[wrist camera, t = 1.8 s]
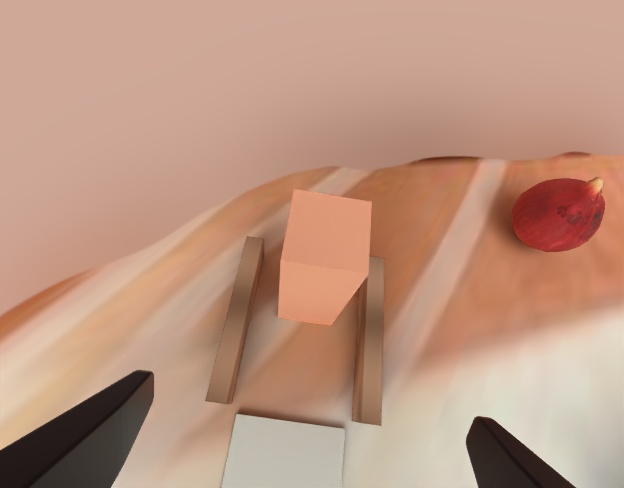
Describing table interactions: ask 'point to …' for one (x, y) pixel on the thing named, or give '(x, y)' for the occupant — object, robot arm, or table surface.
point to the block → (323, 256)
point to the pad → (283, 454)
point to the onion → (559, 214)
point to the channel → (367, 343)
